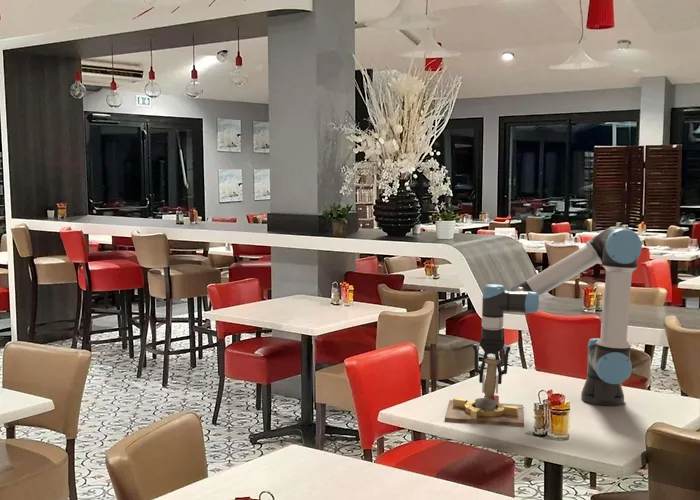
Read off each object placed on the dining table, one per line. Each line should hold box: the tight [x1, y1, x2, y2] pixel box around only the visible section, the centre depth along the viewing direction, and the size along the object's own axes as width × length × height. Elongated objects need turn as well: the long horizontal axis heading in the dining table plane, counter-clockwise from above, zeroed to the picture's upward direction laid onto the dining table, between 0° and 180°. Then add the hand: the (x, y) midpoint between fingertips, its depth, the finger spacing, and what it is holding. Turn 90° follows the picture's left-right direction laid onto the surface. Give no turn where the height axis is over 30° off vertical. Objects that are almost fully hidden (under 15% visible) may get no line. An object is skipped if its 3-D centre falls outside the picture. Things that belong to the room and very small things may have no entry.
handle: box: [483, 356, 502, 398], centre depth 291 cm, size 5×6×15 cm
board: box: [444, 397, 525, 428], centre depth 280 cm, size 26×22×5 cm
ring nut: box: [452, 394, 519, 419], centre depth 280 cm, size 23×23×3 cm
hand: (490, 392), depth 291 cm, fingers closed on handle, 4 cm apart
